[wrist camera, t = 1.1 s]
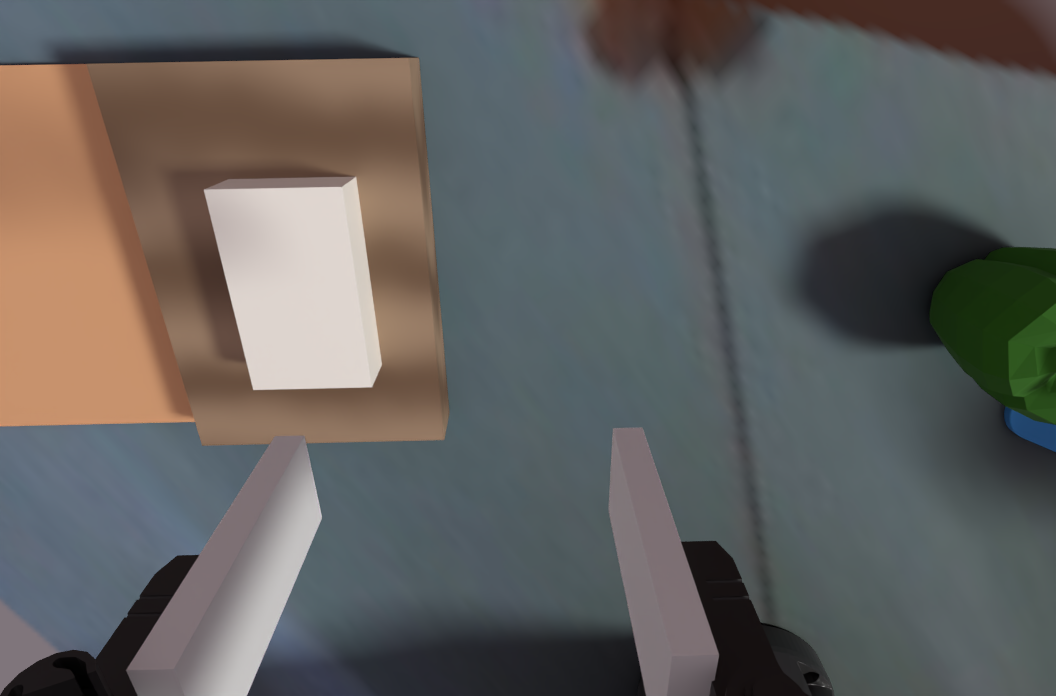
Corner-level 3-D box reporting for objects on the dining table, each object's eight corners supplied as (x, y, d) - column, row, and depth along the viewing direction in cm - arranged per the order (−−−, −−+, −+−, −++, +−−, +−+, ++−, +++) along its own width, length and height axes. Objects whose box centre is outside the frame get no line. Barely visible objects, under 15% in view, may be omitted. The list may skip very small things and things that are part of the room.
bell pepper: (939, 215, 33) (1099, 275, 24) (1079, 235, 33) (1286, 301, 24) (880, 352, 36) (999, 450, 27) (1006, 368, 37) (1164, 468, 28)
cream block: (382, 364, 33) (372, 387, 30) (271, 367, 33) (253, 390, 30) (356, 176, 28) (342, 186, 26) (228, 179, 28) (203, 189, 26)
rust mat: (216, 417, 38) (214, 421, 37) (-42, 423, 37) (-47, 427, 37) (116, 63, 29) (110, 63, 28) (-221, 69, 29) (-231, 69, 28)
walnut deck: (449, 412, 38) (444, 439, 35) (224, 417, 38) (202, 445, 35) (418, 57, 29) (408, 57, 26) (126, 63, 29) (86, 63, 26)
